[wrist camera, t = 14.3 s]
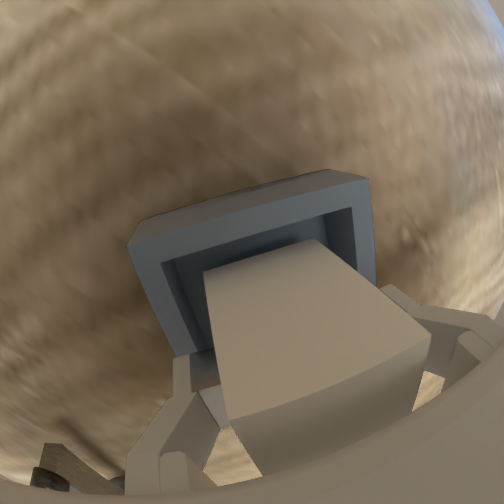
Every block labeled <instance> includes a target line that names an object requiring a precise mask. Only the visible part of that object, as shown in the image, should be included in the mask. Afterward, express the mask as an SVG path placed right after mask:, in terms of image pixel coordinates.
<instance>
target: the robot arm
mask: <svg viewBox="0 0 504 504" xmlns="http://www.w3.org/2000/svg"><path fill="white" fill-rule="evenodd" d="M379 290H380V291H381V292H383V293H384V294H385V295H386V296H387V297H389V298H390V299H391V300H392V301H393V302H395V303H396V304H397V305H398V306H399V307H400V308H402V309H403V310H404V311H405V312H406V313H407V314H409V315H410V316H411V317H412V318H413V319H414V320H416V321H417V322H418V323H419V324H420V325H421V326H422V327H424V328H425V329H426V330H427V331H428V332H429V333H430V334H432V336H431V341H430V346H429V351H428V355H427V359H426V363H425V367H424V370H425V371H428V372H431V373H433V374H436V375H439V376H441V377H444V378H445V381H444V384H443V386H442V389H441V393H440V394H439V395H437V396H436V397H435V398H433V399H432V400H430V401H429V402H427V403H425V404H424V405H422V406H421V407H419V408H418V409H416V410H414V411H413V412H411V413H410V414H408V415H406V416H405V417H403V418H401V419H399V420H398V421H396V422H394V423H392V424H391V425H389V426H387V427H385V428H383V429H381V430H379V431H378V432H376V433H374V434H372V435H370V436H368V437H366V438H364V439H362V440H360V441H357V442H355V443H353V444H351V445H349V446H347V447H344V448H342V449H340V450H337V451H335V452H333V453H330V454H328V455H325V456H323V457H320V458H318V459H315V460H312V461H310V462H307V463H304V464H301V465H298V466H295V467H292V468H289V469H286V470H283V471H280V472H277V473H273V474H270V475H266V476H262V477H259V478H255V479H251V480H247V481H243V482H238V483H234V484H229V485H224V486H219V487H218V486H217V485H216V484H215V483H214V482H213V481H212V480H211V479H210V478H209V477H208V476H207V475H206V474H205V473H204V472H203V469H204V467H205V464H206V462H207V460H208V457H209V455H210V453H211V450H212V448H213V446H214V443H215V441H216V439H217V436H218V434H219V431H220V428H222V427H225V426H229V425H231V424H230V422H229V421H228V416H227V411H226V406H225V401H224V396H223V391H222V386H221V381H220V375H219V370H218V365H217V359H216V353H215V348H214V347H213V348H210V349H206V350H202V351H198V352H194V353H190V354H187V355H183V356H178V357H175V358H174V360H173V397H171V398H168V399H167V401H166V402H165V404H164V405H163V406H162V408H161V409H160V410H159V412H158V413H157V415H156V416H155V417H154V419H153V420H152V421H151V423H150V424H149V426H148V427H147V428H146V430H145V431H144V432H143V434H142V435H141V437H140V438H139V439H138V441H137V442H136V443H135V445H134V446H133V448H132V449H131V450H130V452H129V453H128V454H127V456H126V470H125V495H94V494H81V493H71V492H63V491H56V490H49V489H43V488H38V487H33V486H28V485H24V484H19V483H15V482H11V481H8V480H4V479H0V504H504V328H503V327H502V326H500V325H499V324H498V323H496V322H495V321H494V320H492V319H491V318H490V317H488V316H487V315H483V314H477V313H471V312H465V311H460V310H454V309H448V308H442V307H437V306H431V305H425V304H424V305H422V306H420V305H419V304H417V303H416V302H415V301H414V300H412V299H411V298H410V297H408V296H407V295H406V294H404V293H403V292H402V291H400V290H399V289H398V288H396V287H395V286H394V285H392V284H387V285H385V286H383V287H381V288H379Z"/></svg>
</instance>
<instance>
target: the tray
mask: <svg viewBox="0 0 504 504" xmlns="http://www.w3.org/2000/svg"><path fill="white" fill-rule="evenodd" d="M311 238H315V239H316V240H317V241H319V242H320V243H321V244H323V245H324V246H325V247H326V248H328V249H329V250H330V251H332V252H333V253H334V254H335V255H337V256H338V257H339V258H341V259H342V260H343V261H344V262H346V263H347V264H348V265H349V266H351V267H352V268H353V269H354V270H356V271H357V272H358V273H359V274H361V275H362V276H363V277H364V278H366V279H367V280H368V281H369V282H370V283H372V284H373V285H374V286H375V287H376V264H375V243H374V228H373V216H372V205H371V196H370V187H369V179H368V178H367V177H363V176H359V175H354V174H350V173H345V172H340V171H336V170H331V169H326V170H321V171H317V172H312V173H308V174H304V175H300V176H295V177H291V178H287V179H283V180H279V181H275V182H271V183H267V184H263V185H260V186H256V187H252V188H248V189H245V190H241V191H237V192H234V193H230V194H227V195H223V196H220V197H216V198H213V199H209V200H206V201H202V202H199V203H196V204H193V205H189V206H186V207H183V208H180V209H176V210H173V211H170V212H167V213H164V214H161V215H158V216H155V217H152V218H148V219H145V220H143V221H141V222H140V224H139V225H138V227H137V229H136V230H135V232H134V234H133V235H132V237H131V239H130V240H129V242H128V244H127V245H126V248H127V250H128V253H129V255H130V258H131V260H132V263H133V265H134V268H135V270H136V273H137V275H138V277H139V280H140V282H141V284H142V287H143V289H144V291H145V293H146V296H147V298H148V300H149V302H150V305H151V307H152V309H153V311H154V313H155V315H156V317H157V319H158V322H159V324H160V326H161V328H162V330H163V332H164V334H165V336H166V338H167V340H168V342H169V344H170V346H171V348H172V350H173V351H174V353H175V355H176V357H178V356H183V355H187V354H190V353H194V352H198V351H202V350H206V349H210V348H213V347H214V342H213V336H212V330H211V324H210V317H209V311H208V305H207V298H206V291H205V284H204V277H203V272H204V271H207V270H210V269H214V268H217V267H220V266H223V265H227V264H230V263H233V262H237V261H240V260H243V259H246V258H250V257H253V256H256V255H259V254H263V253H266V252H269V251H272V250H276V249H279V248H282V247H285V246H289V245H292V244H295V243H298V242H301V241H305V240H308V239H311Z"/></svg>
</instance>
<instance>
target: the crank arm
mask: <svg viewBox="0 0 504 504" xmlns="http://www.w3.org/2000/svg"><path fill="white" fill-rule="evenodd" d="M30 486H33V487H38V488H43V489H49V490H56V491H63V492H71V493H81V494H94V495H125V492H124V491H122V490H121V489H119V488H118V487H116V486H115V485H113V484H112V483H111V482H109V481H108V480H106V479H105V478H104V477H102V476H101V475H99V474H98V473H97V472H95V471H94V470H93V469H91V468H90V467H89V466H88V465H86V464H85V463H84V462H83V461H81V460H80V459H79V458H78V457H76V456H75V455H74V454H73V453H72V452H71V451H69V450H68V449H67V448H66V447H65V446H64V445H63V444H54V443H45V444H44V448H43V452H42V456H41V460H40V464H39V467H34V468H33V473H32V477H31V482H30Z"/></svg>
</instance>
